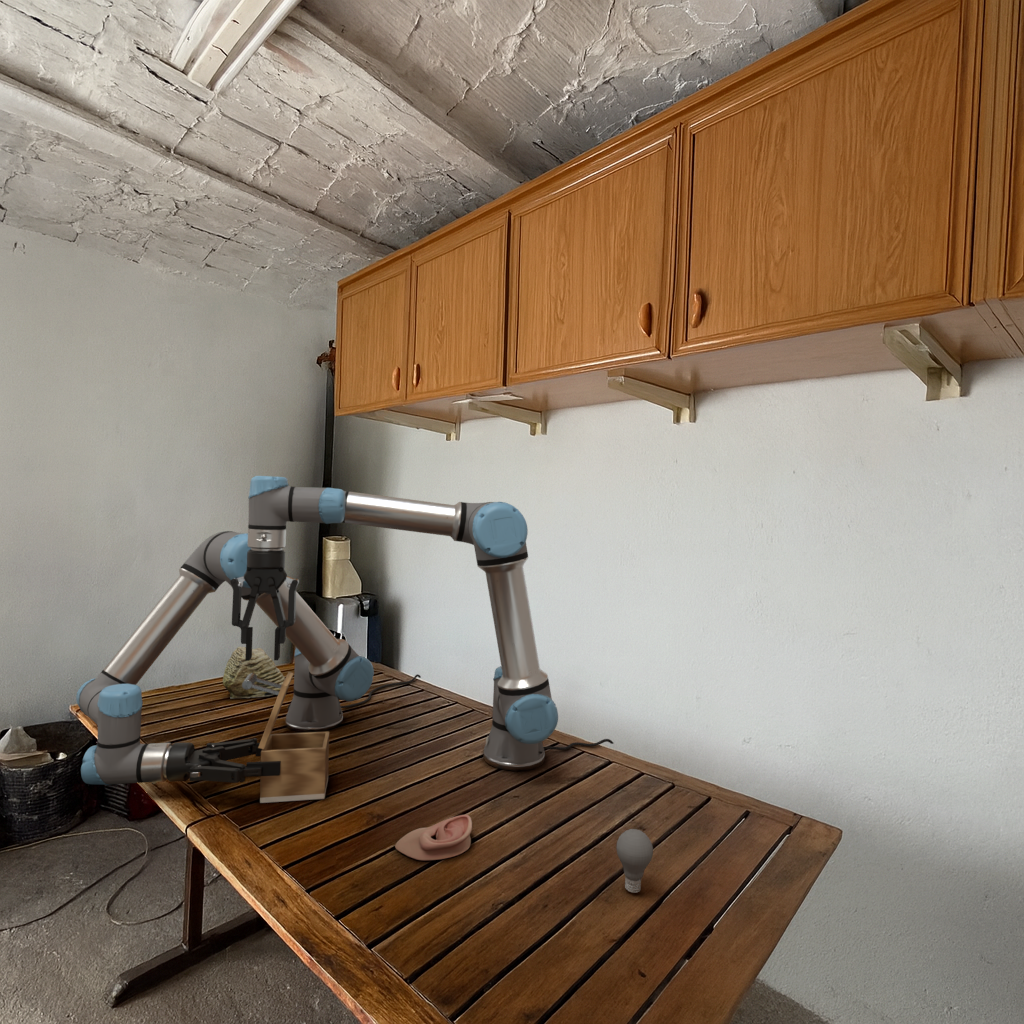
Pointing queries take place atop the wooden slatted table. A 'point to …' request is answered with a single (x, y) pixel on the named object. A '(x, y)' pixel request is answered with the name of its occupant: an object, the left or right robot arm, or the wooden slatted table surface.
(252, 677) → the lid
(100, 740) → the left robot arm
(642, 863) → the light bulb
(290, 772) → the chest
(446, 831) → the anatomical model
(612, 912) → the wooden slatted table surface
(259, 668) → the fossil
